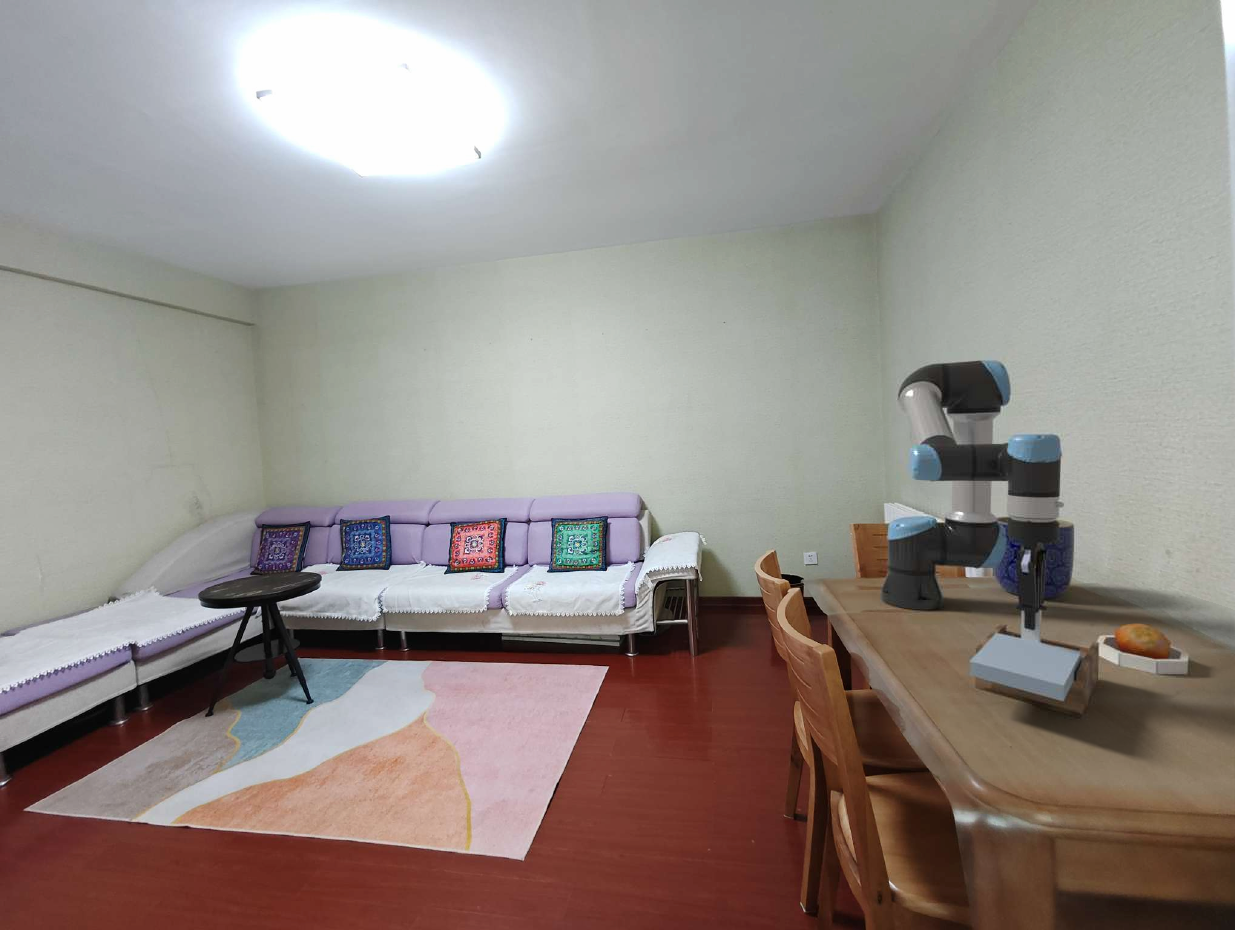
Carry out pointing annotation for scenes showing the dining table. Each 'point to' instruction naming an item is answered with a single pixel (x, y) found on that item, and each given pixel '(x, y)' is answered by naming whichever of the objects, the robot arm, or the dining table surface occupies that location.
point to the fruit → (1142, 641)
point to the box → (1071, 705)
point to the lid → (1027, 665)
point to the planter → (1056, 564)
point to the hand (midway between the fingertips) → (1030, 644)
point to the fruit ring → (1143, 658)
